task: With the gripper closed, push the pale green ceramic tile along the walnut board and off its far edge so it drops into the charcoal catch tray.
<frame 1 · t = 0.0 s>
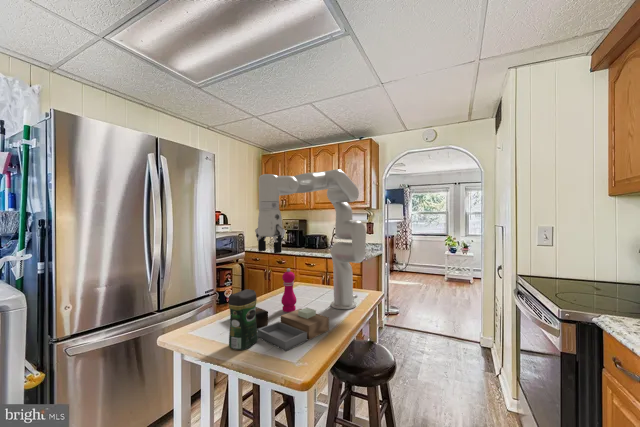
hand: (269, 252, 102), 31 cm above the kitchen island, tool pointing down, fingers open, 9 cm apart
tile: (307, 315, 107), point 5 cm above the kitchen island, touching board
pepper mill: (289, 310, 128), on the kitchen island
coffee jar: (243, 345, 93), on the kitchen island
beverage carton: (248, 323, 114), on the kitchen island
board: (304, 329, 106), on the kitchen island
catch tray: (281, 339, 97), on the kitchen island
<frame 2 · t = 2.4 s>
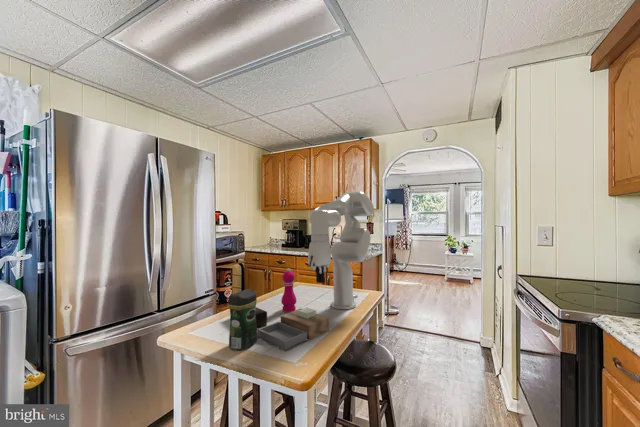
hand: (320, 282, 113), 17 cm above the kitchen island, tool pointing down, fingers closed
nothing on the kitchen island moved.
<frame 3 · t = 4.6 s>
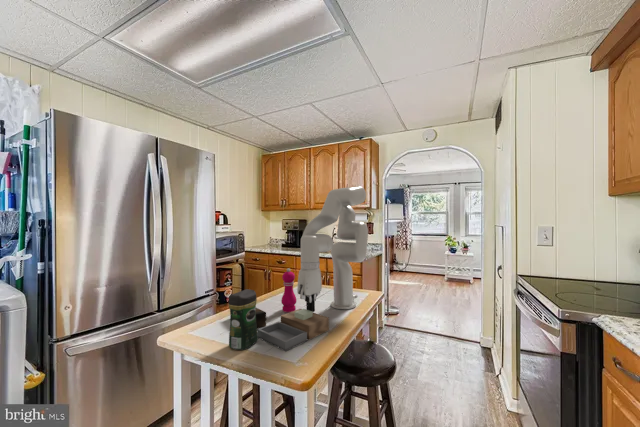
hand: (310, 311, 108), 6 cm above the kitchen island, tool pointing down, fingers closed
tile: (303, 316, 105), point 5 cm above the kitchen island, touching board, gripper
everything else where it was.
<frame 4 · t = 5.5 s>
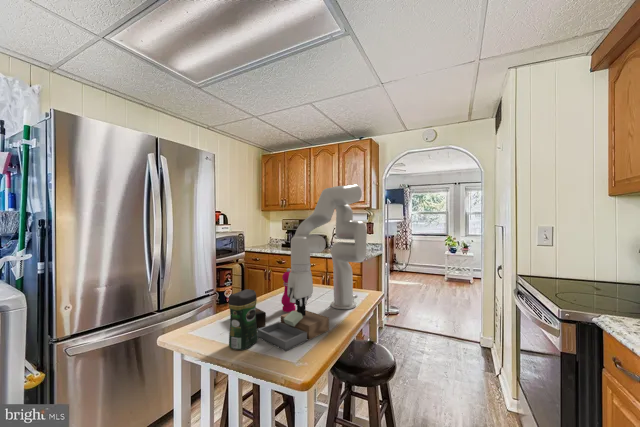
hand: (301, 315, 104), 6 cm above the kitchen island, tool pointing down, fingers closed
tile: (294, 320, 102), point 5 cm above the kitchen island, tilted 23°, touching board
everything else where it was.
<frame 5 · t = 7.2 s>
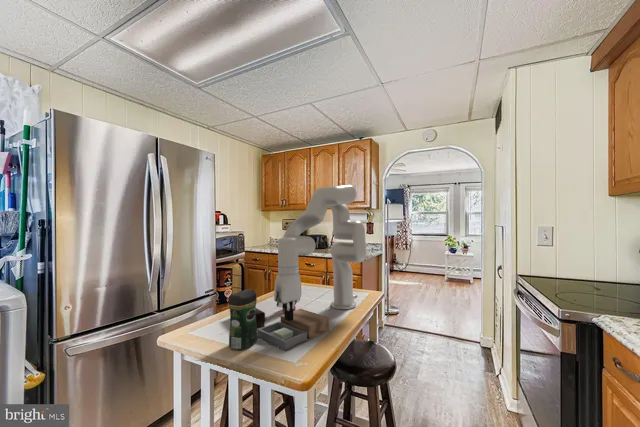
hand: (288, 319, 100), 6 cm above the kitchen island, tool pointing down, fingers closed
tile: (283, 331, 98), point 3 cm above the kitchen island, tilted 180°, touching catch tray
everything else where it was.
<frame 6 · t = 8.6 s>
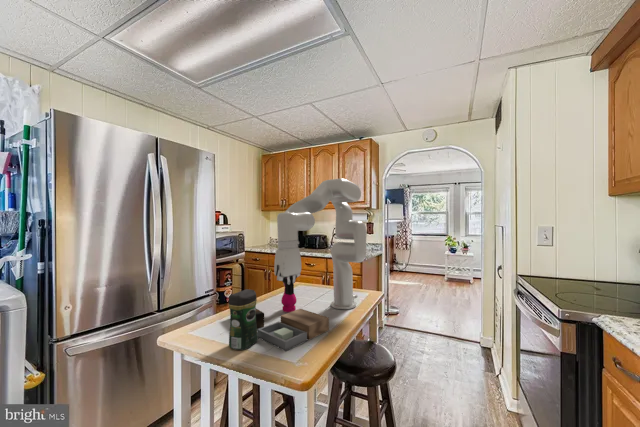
hand: (289, 293, 100), 15 cm above the kitchen island, tool pointing down, fingers closed
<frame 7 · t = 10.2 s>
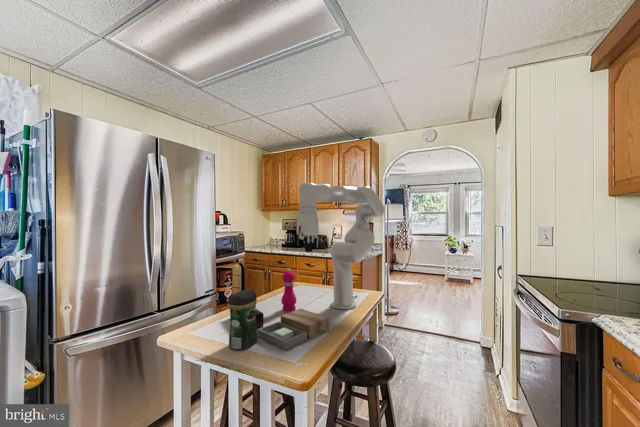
hand: (308, 251, 120), 29 cm above the kitchen island, tool pointing down, fingers closed
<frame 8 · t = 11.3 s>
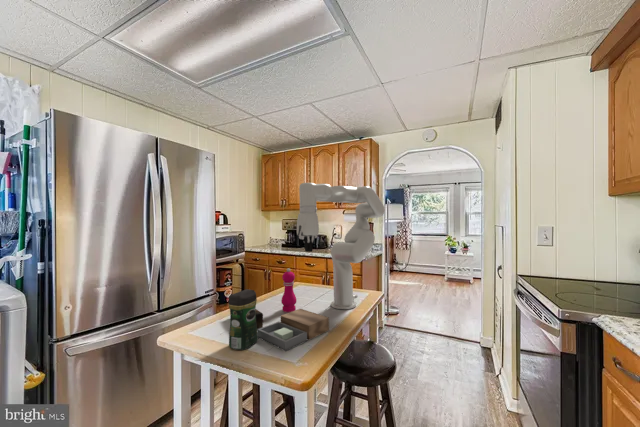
hand: (308, 251, 120), 29 cm above the kitchen island, tool pointing down, fingers closed
at the end: tile inside the target area on the catch tray (0.7 cm from its centre), point 2.6 cm above the catch tray's base; tile point 2.6 cm above the kitchen island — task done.
